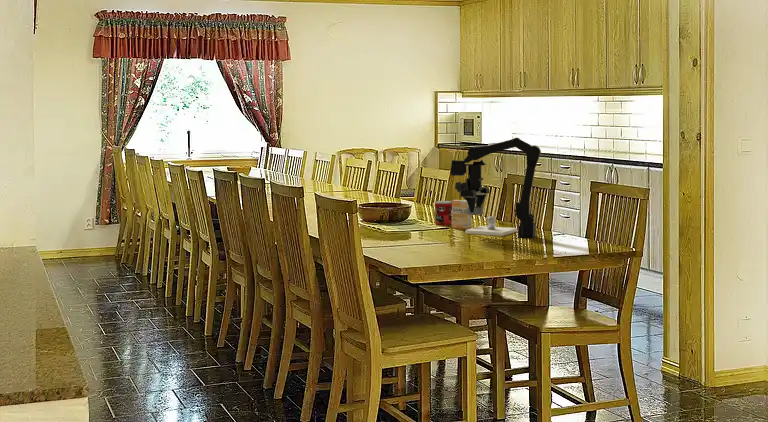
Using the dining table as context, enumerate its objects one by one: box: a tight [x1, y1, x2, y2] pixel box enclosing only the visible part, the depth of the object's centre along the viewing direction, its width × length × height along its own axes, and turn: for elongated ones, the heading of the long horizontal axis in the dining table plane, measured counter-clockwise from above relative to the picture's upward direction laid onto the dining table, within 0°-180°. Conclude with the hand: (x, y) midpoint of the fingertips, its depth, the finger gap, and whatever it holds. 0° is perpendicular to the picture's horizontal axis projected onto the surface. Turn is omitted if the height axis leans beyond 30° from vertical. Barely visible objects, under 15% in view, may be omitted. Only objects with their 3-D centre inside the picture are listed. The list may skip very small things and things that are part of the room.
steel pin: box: [486, 216, 496, 230], centre depth 424 cm, size 4×4×6 cm
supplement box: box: [451, 199, 472, 230], centre depth 439 cm, size 8×5×13 cm, turn 62°
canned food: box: [434, 200, 452, 226], centre depth 454 cm, size 8×8×11 cm
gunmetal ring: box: [467, 205, 484, 216], centre depth 412 cm, size 7×7×3 cm
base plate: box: [464, 225, 518, 237], centre depth 425 cm, size 18×16×2 cm
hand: (475, 211), depth 412 cm, fingers closed on gunmetal ring, 7 cm apart
